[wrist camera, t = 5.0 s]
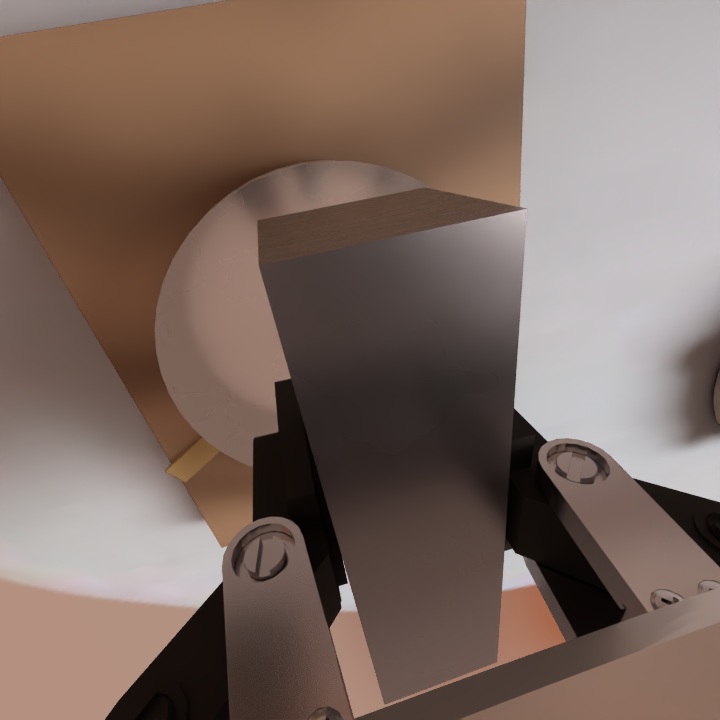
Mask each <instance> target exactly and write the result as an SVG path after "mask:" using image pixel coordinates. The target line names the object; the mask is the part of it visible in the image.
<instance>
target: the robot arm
mask: <svg viewBox="0 0 720 720" xmlns="http://www.w3.org/2000/svg"><path fill="white" fill-rule="evenodd" d="M274 385H275V397H276V408H277V420H278V432H276V433H272V434H267V435H263V436H259V437H255V438H254V439H253V522H252V523H250V524H248V525H247V526H245V527H244V528H243V529H242V530H241V531H239V532H238V533H237V534H236V535H235V536H234V538H233V539H232V540H231V542H230V543H229V544H228V547H227V549H226V551H225V553H224V556H223V564H222V575H223V582H222V583H221V584H220V585H219V586H218V587H217V589H216V590H215V591H214V592H213V593H212V594H211V595H210V597H209V598H208V599H207V600H206V601H205V602H204V603H203V605H202V606H201V607H200V608H199V609H198V610H197V611H196V613H195V614H194V615H193V616H192V617H191V618H190V620H189V621H188V622H187V623H186V624H185V625H184V626H183V627H182V629H181V630H180V631H179V632H178V633H177V634H176V636H175V637H174V638H173V639H172V640H171V641H170V642H169V644H168V645H167V646H166V647H165V648H164V649H163V650H162V652H161V653H160V654H159V655H158V656H157V658H155V660H154V661H153V662H152V663H151V664H150V665H149V667H148V668H147V669H146V670H145V671H144V672H143V673H142V675H141V676H140V677H139V678H138V679H137V680H136V682H134V684H133V685H132V686H131V687H130V688H129V689H128V691H127V692H126V693H125V694H124V695H123V696H122V697H121V699H120V700H119V701H118V702H117V704H116V705H115V706H114V708H113V709H112V711H111V712H110V713H109V715H108V716H107V717H106V719H105V720H720V502H717V501H713V500H709V499H706V498H702V497H699V496H695V495H691V494H688V493H684V492H680V491H677V490H673V489H670V488H666V487H662V486H659V485H655V484H652V483H648V482H644V481H641V480H637V479H634V478H632V477H631V476H630V475H629V474H628V473H627V472H626V471H625V470H624V469H623V468H622V467H621V466H620V465H619V464H618V463H617V462H616V461H615V460H614V459H613V458H612V457H611V456H610V455H609V454H607V453H606V452H605V451H604V450H602V449H601V448H599V447H597V446H595V445H593V444H591V443H588V442H584V441H581V440H576V439H569V438H565V439H555V440H552V441H549V442H547V441H546V440H545V439H544V438H543V437H542V436H541V435H540V434H539V433H538V432H537V431H536V430H535V429H534V428H533V427H532V426H531V425H530V424H529V423H528V422H527V421H526V420H525V419H524V418H523V417H522V416H521V415H520V414H519V413H518V412H517V411H516V410H515V409H514V412H513V427H512V442H511V457H510V472H509V487H508V503H507V518H506V533H505V548H504V551H506V550H509V549H512V548H513V550H514V551H515V553H517V554H519V555H522V556H523V558H524V561H525V563H526V566H527V568H528V570H529V571H530V573H531V575H532V577H533V579H534V581H535V583H536V585H537V587H538V589H539V591H540V592H541V594H542V596H543V598H544V600H545V602H546V604H547V606H548V608H549V610H550V612H551V613H552V615H553V617H554V619H555V621H556V623H557V624H558V627H559V629H560V631H561V632H562V634H563V636H564V638H565V640H566V642H564V643H562V644H559V645H556V646H553V647H551V648H548V649H545V650H542V651H539V652H537V653H534V654H531V655H528V656H526V657H523V658H520V659H517V660H514V661H512V662H509V663H506V664H503V665H500V666H498V667H495V668H492V669H489V670H487V671H484V672H481V673H478V674H476V675H473V676H470V677H467V678H464V679H462V680H459V681H456V682H453V683H451V684H448V685H445V686H443V687H440V688H437V689H434V690H432V691H429V692H426V693H424V694H421V695H418V696H416V697H413V698H410V699H407V700H404V701H402V702H399V703H396V704H393V705H391V706H388V707H385V708H383V709H380V710H377V711H375V712H372V713H369V714H366V715H364V716H361V717H358V718H355V719H354V717H353V713H352V709H351V706H350V702H349V699H348V695H347V691H346V687H345V683H344V680H343V676H342V673H341V669H340V665H339V661H338V658H337V655H336V651H335V647H334V643H333V640H332V636H331V632H330V626H331V625H332V623H333V621H334V620H335V618H336V616H337V615H338V613H339V611H340V609H341V603H340V602H341V597H340V591H339V586H340V585H344V584H347V583H348V582H347V578H346V573H345V568H344V564H343V559H342V554H341V551H340V547H339V544H338V540H337V537H336V533H335V530H334V526H333V523H332V519H331V516H330V512H329V509H328V506H327V502H326V499H325V495H324V492H323V488H322V485H321V481H320V478H319V474H318V471H317V467H316V464H315V460H314V457H313V453H312V450H311V446H310V443H309V439H308V436H307V432H306V429H305V425H304V422H303V418H302V415H301V411H300V408H299V404H298V401H297V398H296V394H295V391H294V387H293V384H292V380H291V379H286V380H282V381H277V382H274Z"/></svg>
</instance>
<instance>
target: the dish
mask: <svg viewBox="0 0 720 720" xmlns="http://www.w3.org/2000/svg"><path fill="white" fill-rule="evenodd" d="M714 411H715V415H716V419H717V421H718V423H719V424H720V371H719V373H718V377H717V380H716V384H715V389H714Z"/></svg>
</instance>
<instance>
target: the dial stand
mask: <svg viewBox="0 0 720 720" xmlns="http://www.w3.org/2000/svg"><path fill="white" fill-rule="evenodd" d="M525 23H526V0H228V1H221V2H215V3H209V4H203V5H197V6H190V7H184V8H178V9H172V10H165V11H159V12H153V13H147V14H140V15H134V16H128V17H122V18H115V19H109V20H103V21H97V22H91V23H84V24H78V25H72V26H66V27H59V28H53V29H47V30H41V31H34V32H28V33H22V34H16V35H9V36H3V37H0V176H1V178H2V180H3V181H4V183H5V185H6V186H7V188H8V190H9V191H10V193H11V195H12V197H13V198H14V200H15V202H16V203H17V205H18V207H19V208H20V210H21V212H22V213H23V215H24V217H25V218H26V220H27V222H28V223H29V225H30V227H31V228H32V230H33V232H34V233H35V235H36V237H37V238H38V240H39V242H40V244H41V245H42V247H43V249H44V250H45V252H46V254H47V255H48V257H49V259H50V260H51V262H52V264H53V265H54V267H55V269H56V270H57V272H58V274H59V275H60V277H61V279H62V280H63V282H64V284H65V285H66V287H67V289H68V291H69V292H70V294H71V296H72V297H73V299H74V301H75V302H76V304H77V306H78V307H79V309H80V311H81V312H82V314H83V316H84V317H85V319H86V321H87V322H88V324H89V326H90V327H91V329H92V331H93V332H94V334H95V336H96V337H97V339H98V341H99V343H100V344H101V346H102V348H103V349H104V351H105V353H106V354H107V356H108V358H109V359H110V361H111V363H112V364H113V366H114V368H115V369H116V371H117V373H118V374H119V376H120V378H121V379H122V381H123V383H124V384H125V386H126V388H127V390H128V391H129V393H130V395H131V396H132V398H133V400H134V401H135V403H136V405H137V406H138V408H139V410H140V411H141V413H142V415H143V416H144V418H145V420H146V421H147V423H148V425H149V426H150V428H151V430H152V431H153V433H154V435H155V437H156V438H157V440H158V442H159V443H160V445H161V447H162V448H163V450H164V452H165V453H166V455H167V457H168V458H169V460H170V462H171V463H172V464H171V465H170V466H168V467H167V468H166V471H165V472H166V473H168V474H170V475H172V476H174V477H176V478H178V479H180V480H182V482H183V484H184V485H185V487H186V489H187V490H188V492H189V494H190V495H191V497H192V499H193V500H194V502H195V504H196V505H197V507H198V509H199V510H200V512H201V514H202V515H203V517H204V519H205V520H206V522H207V524H208V525H209V527H210V529H211V530H212V532H213V534H214V536H215V537H216V539H217V541H218V542H219V544H220V546H221V547H225V546H228V544H229V543H230V542H231V540H232V539H233V538H234V536H235V535H236V534H237V533H238V532H239V531H241V530H242V529H243V528H244V527H245V526H247V525H248V524H250V523H252V522H253V467H251V466H248V465H246V464H243V463H241V462H239V461H237V460H235V459H233V458H231V457H230V456H228V455H226V454H224V453H222V452H221V451H220V450H218V449H217V448H215V447H214V446H213V445H211V444H210V443H209V442H207V441H206V440H205V439H204V438H203V437H202V436H201V435H200V434H199V433H198V432H196V431H195V430H194V429H193V428H192V427H191V425H190V424H189V423H188V422H187V420H186V419H185V418H184V417H183V415H182V414H181V413H180V412H179V410H178V408H177V406H176V405H175V403H174V401H173V400H172V398H171V396H170V394H169V392H168V390H167V387H166V385H165V382H164V380H163V377H162V375H161V371H160V367H159V362H158V358H157V354H156V342H155V320H156V309H157V303H158V299H159V295H160V291H161V287H162V284H163V280H164V278H165V276H166V274H167V271H168V269H169V267H170V264H171V262H172V260H173V258H174V256H175V254H176V253H177V251H178V250H179V248H180V247H181V245H182V243H183V242H184V240H185V239H186V237H187V236H188V234H189V233H190V232H191V231H192V229H193V228H194V227H195V226H196V225H197V223H198V222H199V221H200V220H201V219H202V218H203V217H204V215H205V214H206V213H207V212H208V211H209V210H210V209H211V208H212V207H213V206H214V205H215V204H216V203H218V202H219V201H220V200H221V199H222V198H224V197H225V196H226V195H227V194H228V193H229V192H231V191H232V190H234V189H236V188H237V187H239V186H241V185H242V184H244V183H246V182H247V181H249V180H250V179H252V178H255V177H257V176H259V175H262V174H264V173H266V172H269V171H271V170H273V169H276V168H280V167H284V166H288V165H292V164H295V163H299V162H308V161H318V160H340V161H355V162H363V163H368V164H373V165H378V166H383V167H387V168H390V169H392V170H395V171H398V172H401V173H403V174H406V175H409V176H411V177H413V178H415V179H416V180H418V181H420V182H422V183H424V184H426V185H427V186H429V187H431V188H432V189H435V190H440V191H445V192H450V193H455V194H459V195H464V196H469V197H474V198H478V199H483V200H488V201H493V202H498V203H502V204H507V205H512V206H517V207H520V179H521V147H522V116H523V85H524V54H525Z"/></svg>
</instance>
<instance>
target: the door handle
mask: <svg viewBox="0 0 720 720" xmlns="http://www.w3.org/2000/svg"><path fill="white" fill-rule="evenodd" d="M526 215H527V209H526V208H521V207H517V206H512V205H507V204H502V203H498V202H493V201H488V200H483V199H478V198H474V197H469V196H464V195H459V194H455V193H450V192H445V191H440V190H435V189H432V188H431V187H429V186H427V185H426V184H424V183H422V182H420V181H418V180H416V179H415V178H413V177H411V176H409V175H406V174H403V173H401V172H398V171H395V170H392V169H390V168H387V167H383V166H378V165H373V164H368V163H363V162H355V161H340V160H318V161H308V162H299V163H295V164H292V165H288V166H284V167H280V168H276V169H273V170H271V171H269V172H266V173H264V174H262V175H259V176H257V177H255V178H252V179H250V180H249V181H247V182H246V183H244V184H242V185H241V186H239V187H237V188H236V189H234V190H232V191H231V192H229V193H228V194H227V195H226V196H225V197H224V198H222V199H221V200H220V201H219V202H218V203H216V204H215V205H214V206H213V207H212V208H211V209H210V210H209V211H208V212H207V213H206V214H205V215H204V217H203V218H202V219H201V220H200V221H199V222H198V223H197V225H196V226H195V227H194V228H193V229H192V231H191V232H190V233H189V234H188V236H187V237H186V239H185V240H184V242H183V243H182V245H181V247H180V248H179V250H178V251H177V253H176V254H175V256H174V258H173V260H172V262H171V264H170V267H169V269H168V271H167V274H166V276H165V278H164V280H163V284H162V287H161V291H160V295H159V299H158V303H157V309H156V320H155V342H156V354H157V358H158V362H159V367H160V371H161V375H162V377H163V380H164V382H165V385H166V387H167V390H168V392H169V394H170V396H171V398H172V400H173V401H174V403H175V405H176V406H177V408H178V410H179V412H180V413H181V414H182V415H183V417H184V418H185V419H186V420H187V422H188V423H189V424H190V425H191V427H192V428H193V429H194V430H195V431H196V432H198V433H199V434H200V435H201V436H202V437H203V438H204V439H205V440H206V441H207V442H209V443H210V444H211V445H213V446H214V447H215V448H217V449H218V450H220V451H221V452H222V453H224V454H226V455H228V456H230V457H231V458H233V459H235V460H237V461H239V462H241V463H243V464H246V465H248V466H251V467H253V439H254V438H255V437H259V436H263V435H267V434H272V433H276V432H278V420H277V408H276V397H275V385H274V382H277V381H282V380H286V379H291V380H292V384H293V387H294V391H295V394H296V398H297V401H298V404H299V408H300V411H301V415H302V418H303V422H304V425H305V429H306V432H307V436H308V439H309V443H310V446H311V450H312V453H313V457H314V460H315V464H316V467H317V471H318V474H319V478H320V481H321V485H322V488H323V492H324V495H325V499H326V502H327V506H328V509H329V512H330V516H331V519H332V523H333V526H334V530H335V533H336V537H337V540H338V544H339V547H340V551H341V554H342V558H343V561H344V565H345V568H346V572H347V575H348V579H349V582H350V586H351V589H352V593H353V596H354V600H355V603H356V607H357V610H358V613H359V617H360V620H361V624H362V627H363V631H364V634H365V637H366V641H367V645H368V648H369V652H370V655H371V659H372V662H373V665H374V669H375V673H376V676H377V680H378V683H379V687H380V690H381V694H382V697H383V701H384V704H388V703H390V702H393V701H395V700H398V699H401V698H404V697H406V696H409V695H411V694H414V693H417V692H419V691H422V690H425V689H427V688H430V687H433V686H435V685H438V684H441V683H443V682H446V681H448V680H451V679H454V678H456V677H459V676H462V675H464V674H467V673H469V672H472V671H475V670H478V669H480V668H483V667H486V666H488V665H491V664H493V663H496V662H497V653H498V638H499V623H500V608H501V593H502V578H503V563H504V548H505V533H506V518H507V503H508V487H509V472H510V457H511V442H512V427H513V412H514V397H515V382H516V366H517V351H518V336H519V321H520V306H521V291H522V276H523V261H524V245H525V230H526Z"/></svg>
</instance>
